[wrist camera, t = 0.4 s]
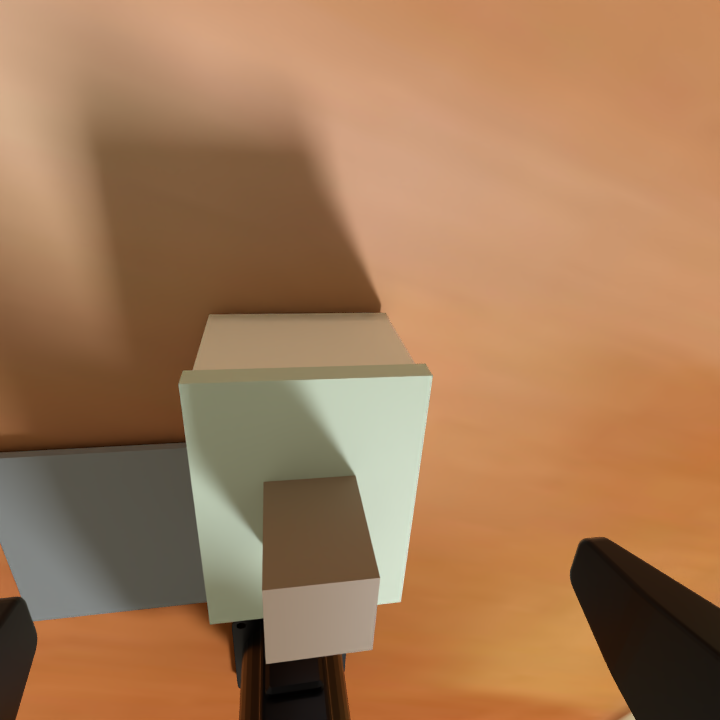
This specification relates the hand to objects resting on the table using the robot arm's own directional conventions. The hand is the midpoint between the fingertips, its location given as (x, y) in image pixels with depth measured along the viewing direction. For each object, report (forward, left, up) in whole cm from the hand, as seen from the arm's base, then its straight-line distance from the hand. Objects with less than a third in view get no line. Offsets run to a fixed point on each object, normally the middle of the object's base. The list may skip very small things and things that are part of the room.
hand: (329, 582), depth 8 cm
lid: (-5, 0, -8) cm, 9 cm away
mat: (-11, +9, -13) cm, 19 cm away
